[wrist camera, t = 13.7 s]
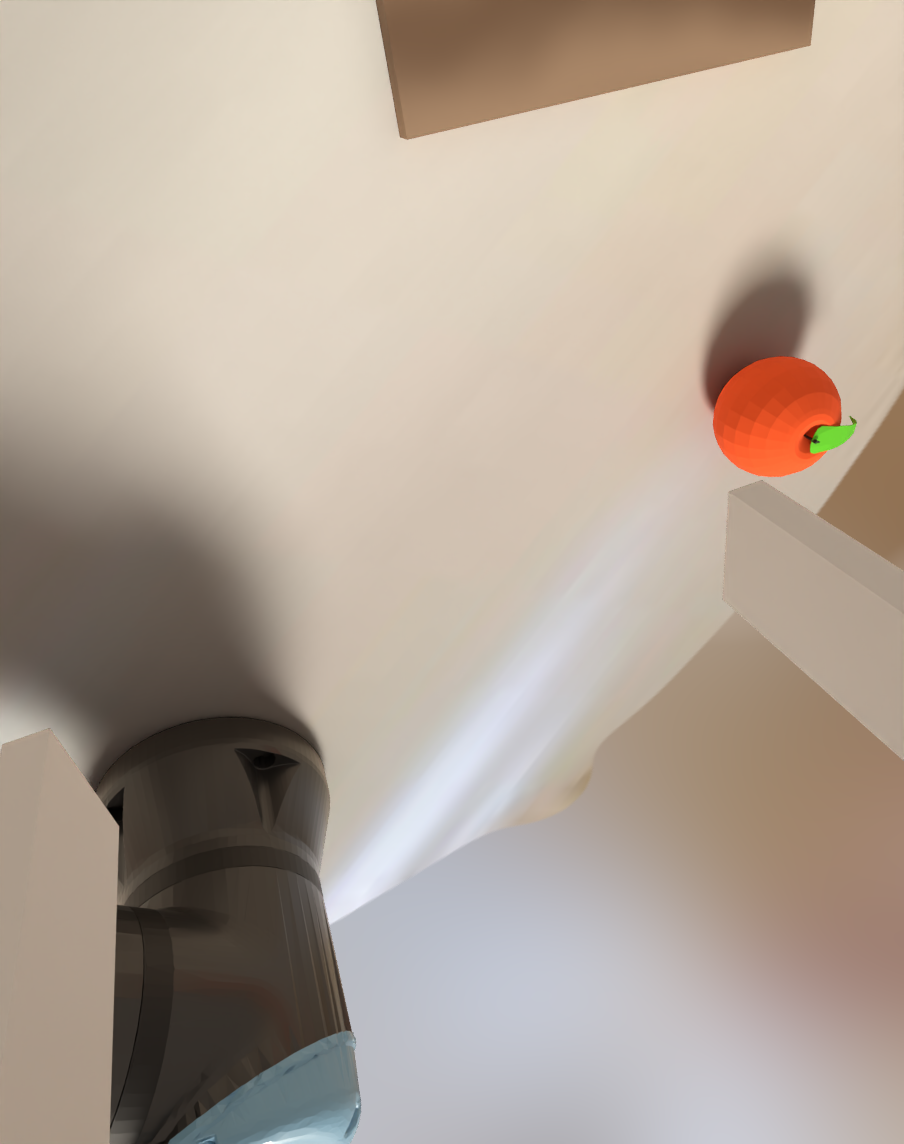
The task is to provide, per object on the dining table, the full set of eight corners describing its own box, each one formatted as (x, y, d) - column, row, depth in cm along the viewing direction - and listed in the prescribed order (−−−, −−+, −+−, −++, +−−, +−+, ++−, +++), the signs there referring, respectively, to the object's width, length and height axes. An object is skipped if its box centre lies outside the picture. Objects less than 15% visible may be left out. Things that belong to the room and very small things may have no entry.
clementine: (815, 334, 46) (906, 373, 41) (786, 439, 50) (864, 488, 45) (702, 345, 44) (781, 388, 39) (680, 454, 48) (749, 506, 42)
